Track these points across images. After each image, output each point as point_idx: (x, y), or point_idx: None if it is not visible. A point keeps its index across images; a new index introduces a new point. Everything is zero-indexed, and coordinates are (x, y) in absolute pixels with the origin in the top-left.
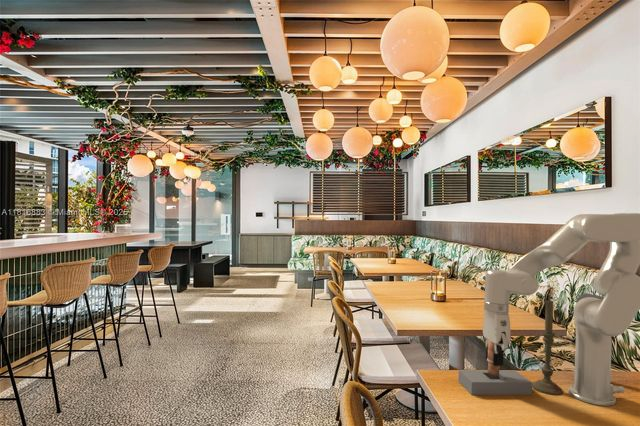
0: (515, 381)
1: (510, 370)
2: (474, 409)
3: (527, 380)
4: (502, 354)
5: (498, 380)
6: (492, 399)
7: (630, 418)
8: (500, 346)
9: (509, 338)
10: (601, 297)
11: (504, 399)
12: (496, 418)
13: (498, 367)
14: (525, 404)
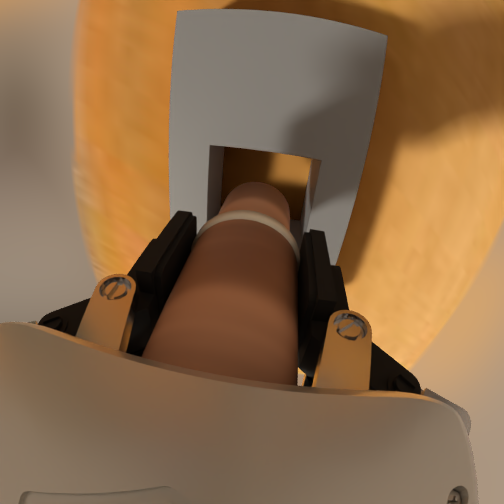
0: (358, 128)
1: (178, 41)
2: (389, 334)
3: (357, 39)
4: (330, 302)
5: (324, 220)
6: (362, 253)
7: None
8: (292, 371)
9: (469, 496)
10: None
11: (378, 208)
12: (446, 310)
13: (286, 227)
14: (436, 156)
